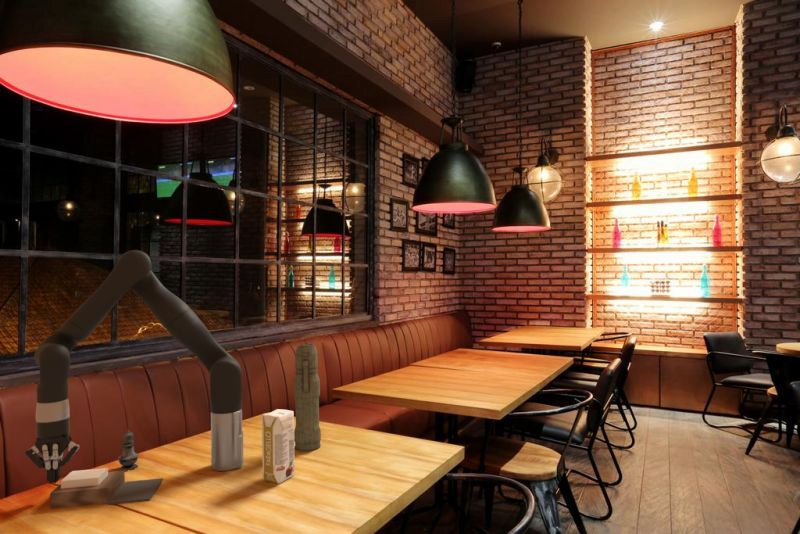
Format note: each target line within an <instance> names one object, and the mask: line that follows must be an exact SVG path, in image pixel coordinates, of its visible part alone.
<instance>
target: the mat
mask: <svg viewBox="0 0 800 534" xmlns="http://www.w3.org/2000/svg"><path fill="white" fill-rule="evenodd" d="M163 481H164V478H162V477H161V478H151V479H139V480H129V481H128V480H127V481H125V483H124V484H123V486H122V487H121V488H120V489H119V491H118V492H117V493H116V494H115V495H114V497H113V498H112V499H111V500H110V502H109V503H108V505H117V504H118V505H119V504H127V503H128V504H129V503H139V502H146V501H147V502H148V501H151V500H152V498H153V497H154V495H155V493H156V492H157V490H158V489H159V487H160V486H161V484H162V482H163Z"/></svg>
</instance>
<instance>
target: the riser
mask: <svg viewBox="0 0 800 534" xmlns="http://www.w3.org/2000/svg"><path fill="white" fill-rule="evenodd" d="M125 473H126V471H120V470H117V471H116V470H115V471H108V476H107V477H106V478H105V479H104V480H103V481H102V482H101V483H100V484H99V485H95V486H84V487H73V488H63V489H61V483H59V484H58V485H57V486H56V487H55V489H53V490H52V491H51V492H50V494H49V496H50V497H49V499H50V500H49V501H50V502H49V503H50V504H49V506H50V507H49V508H50V510H51V509H62V508H63V507H64V508H75V507H81V506H92V505H103V504H109V502H110V500H111V499H112V498H113V497H114V495H115V494H116V493H117V492H118V491H119V489H120V488H121V487H122V486H123V484H124V483H125V482H126V481H125V480H126V479H125Z"/></svg>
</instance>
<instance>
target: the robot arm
mask: <svg viewBox="0 0 800 534" xmlns="http://www.w3.org/2000/svg"><path fill="white" fill-rule="evenodd" d="M152 266H153V265H152V261H151V258H150V257H149V255H148V254H147V253H146V252H144V251H142V250H138V249H132V250H128V251H126V252H125V253H122V255H120V256H119V257H118V259H117V262H116V264H115V265H114V267H113V269H112V270H111V271H110V273H109V275H107V277H106V278H105V280H104V281H103V282H102V283H101V284H100V285H99V286H98V288H97V289H96V290H95V291H93V293H91V294H90V296H89V297H88V298H87V299H85V301H84V302H83V303H82V304H80V306H79V307H77V309H76V310H74V312H72V314H70V316H68V318H67V319H66V321H64V323H63V324H62V325H61V326H60V327H59V328H58V329H57V330H55V331H54V332H53V333H52V334H51V335H50V336H48V337H47V338H45V340H44V341H42V343H41V344H39V346H38V347H37V349H36V350H35V352H34V361H35V362H36V364H37V365H39V366H38V367H39V381H38V382H37V386H36V406H35V407H36V409H35V417H34V418H35V435H36V436H35V438H36V440H35V441H34V444H33V446H31V447H30V448H29V449H27V450H25V453H24V454H25V455H26V456H27V457H28V458H29V459H30V460H31V461H32V463H34V464H35V465H36V466H37V468H39V469H45V470H46V480H47V482H49V484H56V483H57V482H58V481H59V480H60V479H61V478H62V467H64V466H66V465H67V464H68V463H69V462H70V460H71V459H72V458H73V457H74V456H75V454H76V453H77V452H78V451H79V449H80V448H81V447H82V446H81V444H80V443H75V442H74V441H72V440H73V439H72V437H71V434H70V432H71V421H70V420H71V419H70V417H71V416H70V408H71V407H70V401H69V383H68V382H69V375H70V368H71V353H70V352H71V351H72V350H73V349H74V348H75V347H76V346H77V345H78V344H79V343H82V342H84V341H85V340H86V339H87V338H89V336H91V334H92V333H94V331H95V330H96V329H97V328H98V327H99V325H100V324H101V323H102V322H103V321H104V319H105V318H106V317H107V315H108V314H109V313H110V312H111V310H112V309H113V307H114V306H115V305H116V304H117V303H118V302H119V300H120V299H121V298H122V297H123V296H124V294H126V292H128V291H129V290H132V292H133V293H134V294H136V295H137V297H139V298H140V299H141V301H142V302H143V303H144V304H145V305H146V306H147V307H148V309H149V310H150V312H151V313H152V314H153V316H154V317H155V318H156V319H157V321H158V322H159V323H160V324H161V325H162V327H163V328H164V329H165V330H166V331H167V332H168V333H169V335H170V336H171V337H172V338H173V339H174V340H175V341H176V342H177V343H179V344H180V345H181V346H183V347H184V348H185V349H186V350H188V351H189V352H190V353H191V354H193V355H194V356H195V357H197V359H198V360H199V361H200V362H201V363H202V364H203V366H204V367H205V369H206V370H207V372H208V373H209V399H210V402H209V403H210V444H211V445H210V446H211V447H210V450H211V451H210V454H211V455H210V456H211V457H210V458H211V460H210V461H211V462H210V463H211V469H212V470H213V471H219V472H220V471H224V472H225V471H230V470H231V471H232V470H236V469H239V468H242V467H243V463H244V462H245V461H244V431H243V389H242V388H243V385H242V384H243V380H242V379H243V375H242V367H241V364H240V362H239V361H238V360H237V359H235V358H234V356H232V355H231V354H230V353H228V351H227V350H225V349H224V348H223V347H222V346H221V345H220V344H219V343H218V342H217V341H216V340H215V338H214V337H213V335H212V334H211V333H210V331H209V330H208V328H207V327H206V325H205V324H204V323H203V322H202V320H201V319H200V318H199V316H198V315H197V314H196V313H195V312H194V311H193V310H192V308H190V306H189V305H188V304H187V303H185V302H184V301H183V299H181V298H180V297H178V296H177V295H175V294H174V293H173V292H172V291H170V290H169V289H168V288H166V287H165V286H164V285H163V284H162V282H161V281H160V280H159V279H158V277H157V276H156V275H155V273H154V272H153V271H152V269H153V268H152ZM66 450H68V453H67V454H66V455H65V457H64V452H65V451H66ZM40 453H41V454H40ZM63 457H64V458H63Z"/></svg>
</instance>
